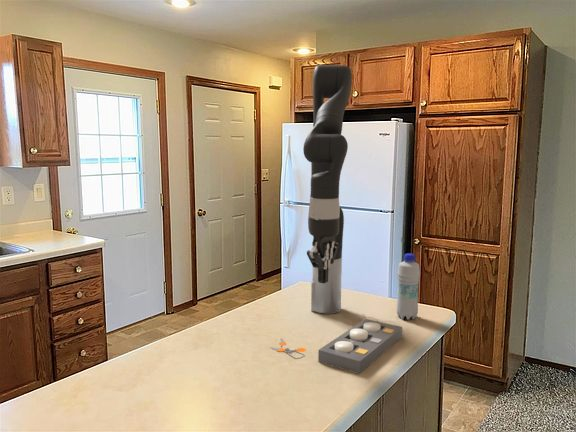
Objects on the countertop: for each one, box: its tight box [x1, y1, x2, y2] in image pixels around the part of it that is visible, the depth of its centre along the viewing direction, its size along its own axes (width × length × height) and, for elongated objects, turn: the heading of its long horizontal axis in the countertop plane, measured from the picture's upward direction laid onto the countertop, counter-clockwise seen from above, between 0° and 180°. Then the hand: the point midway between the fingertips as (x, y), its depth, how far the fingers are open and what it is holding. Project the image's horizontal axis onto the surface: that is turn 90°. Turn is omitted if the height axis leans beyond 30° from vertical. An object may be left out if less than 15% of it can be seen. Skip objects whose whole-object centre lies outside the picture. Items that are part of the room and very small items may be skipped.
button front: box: [335, 341, 354, 354], centre depth 118 cm, size 5×5×2 cm
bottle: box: [396, 252, 421, 321], centre depth 146 cm, size 7×7×20 cm
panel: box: [317, 318, 403, 374], centre depth 124 cm, size 26×11×3 cm, turn 145°
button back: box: [363, 322, 381, 333], centre depth 131 cm, size 5×5×2 cm
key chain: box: [268, 337, 307, 360], centre depth 124 cm, size 13×7×1 cm, turn 41°
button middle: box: [350, 329, 368, 343], centre depth 124 cm, size 5×5×2 cm
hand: (323, 282), depth 122 cm, fingers closed
